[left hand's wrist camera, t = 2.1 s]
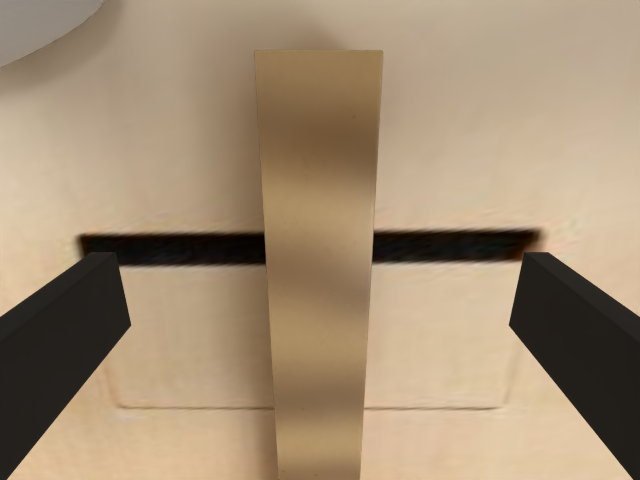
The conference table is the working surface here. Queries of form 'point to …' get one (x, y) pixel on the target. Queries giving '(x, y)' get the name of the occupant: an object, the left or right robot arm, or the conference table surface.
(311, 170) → the bar
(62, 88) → the conference table surface
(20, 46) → the projector
